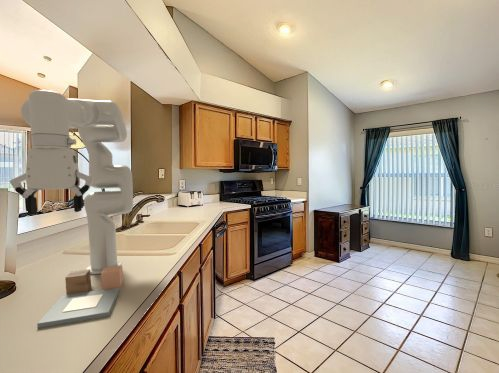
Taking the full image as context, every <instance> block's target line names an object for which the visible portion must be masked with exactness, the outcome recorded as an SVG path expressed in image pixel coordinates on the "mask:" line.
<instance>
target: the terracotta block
mask: <svg viewBox="0 0 499 373" xmlns="http://www.w3.org/2000/svg"><path fill="white" fill-rule="evenodd" d="M123 273H124V272H123V265H122V266H114V267H105V268H104V269H103V271H102V272H101V274H100V280H101V290H104V289H111V288H119V287H120V289H121V288H122V286H123V283H124V274H123Z"/></svg>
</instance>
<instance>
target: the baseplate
mask: <svg viewBox="0 0 499 373" xmlns="http://www.w3.org/2000/svg"><path fill="white" fill-rule="evenodd" d="M120 292H121V288H120V287H119V288H111V289H104V290H102V289H99V290H98V289H97V290H92V291H91V290H90V291H87V292H83V293H76V294H68V295H66V294H62V295H61V296H60V298H58V300H57V301H56V302H55V303H54V304H53V305H52V307H50V309H49V310H48V311H47V312H46V313H45V314H44V315H43V317H42V318H41V319H40V320H38V322H37V323H36V324H37V329H41V328H47V327H52V326H53V327H54V326H58V325H66V324H71V323H72V324H73V323H76V322H83V321H89V320H96V319H102V318H106V317H109V316H110V315H111V312H112V310H113V308H114V305H115V303H116V301H117V299H118V297H119V294H120Z"/></svg>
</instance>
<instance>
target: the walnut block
mask: <svg viewBox="0 0 499 373" xmlns="http://www.w3.org/2000/svg"><path fill="white" fill-rule="evenodd" d="M91 276H92V274H90V269H88V270H86V269H81V270H74V271H73V270H72V271H70V273H68V274H67V275H66V277H65V279H64V280H65V291H66V294H65V295H68V294H76V293H83V292H89V290H90V288H91V287H92V278H91Z"/></svg>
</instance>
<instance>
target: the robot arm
mask: <svg viewBox="0 0 499 373" xmlns="http://www.w3.org/2000/svg"><path fill="white" fill-rule="evenodd" d="M20 113H21V117H22V119H23V120H24V122H25V123H26V124H27V125H29V126H30V127H29V128H30V134H31V135H30V139H31V148H29V149H28V151H27V152H28V153H27V157H26V165H25V173H24V174H21V175H19V176H16V177H14V178H13V179H11V180H10V181H9V183H10V186H12V188H14V191H15V192H16V193H17V194H18V195H20V196H21V197H22V198H23V199H24V203H25V205H24V206H25V211H26V212H27V216H28V215H29V216H33V215H35V214H37V213H38V199H37V197H36V196H35V195H36V194H37V193H38V191H45V190H50V191H51V190H69V189H70V191H71V192H73V193H74V194H75V195H74V196H73V210H74V212H75V213H78V212H82V209H83V208H84V210H85V213H86V217H87V218H86V219H87V227H88V243H89V246H88V247H89V261H90V263H89V264H90V265H89V266H87V267H86V269H85V270H88V269H90V274H91V275H101V272H102V271H103V269H104V268H105V267H114V266H122V267H123V265H122V262H120V261H119V260H118V254H117V253H118V251H117V250H118V249H117V234H116V232H117V231H116V225H115V222H114V220H113V219H111V217H110V215H124V214H129V213H130V212H132V211H133V206H134V192H133V191H134V186H133V185H134V184H133V172H132V170H131V168H130V167H129V166H127V165H121V164H120V165H117V164H116V165H113V164H114V163H113V153H112V152H111V151H110V149H109V148H108V147H107V146H106V145H105V144H103V143H123V142H125V140H126V139H127V135H128V133H127V131H128V130H127V127H126V124H125V120H124V117H123V115H122V111H121V109H120V107H119V106H118V104H117V103H116V102H114V101H111V100H96V99H81V98H66V96H65V95H63V94H62V93H60V92H57V91H53V90H46V89H37V90H34V89H33V90H32V91H30V92H29V93H28V99H25V100H24V101H23V103H22V104H21V107H20ZM70 129H76V130H77V132H78V135H79V137H80V139H81V142H82V143H83V145H84V147H85V149H86V151H87V154H88V175H87V174H84V173H83V172H80V169H79V165H78V158H77V156H76V151H75V149H72V146H73V145H76V146H77V139H75V138H71V137H70ZM81 179H82V180H84V181H85V183H84V185H83V186H81V187H80V185H81ZM24 181H25V182H26V187H27V189H26V188H25V187H24V186H23V184H22V183H23V182H24ZM91 188H94V189H120V190H114V191H112V190H107V191H106V190H105V191H104V190H103V191H93V192H90V193H88V194H87V195H86V196H85V197H84V195H85V194H86V192H87V191H89V190H90V189H91Z"/></svg>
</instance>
